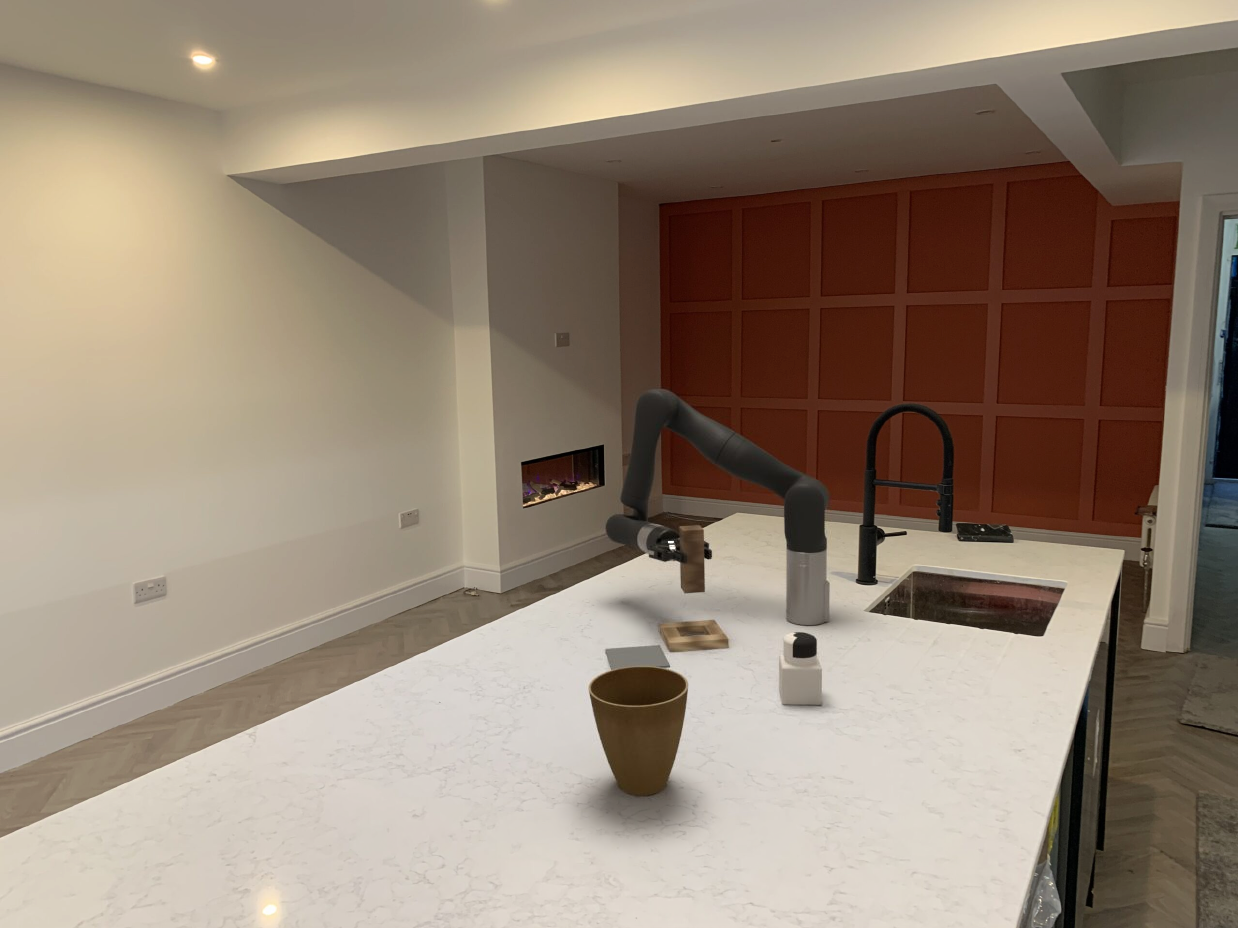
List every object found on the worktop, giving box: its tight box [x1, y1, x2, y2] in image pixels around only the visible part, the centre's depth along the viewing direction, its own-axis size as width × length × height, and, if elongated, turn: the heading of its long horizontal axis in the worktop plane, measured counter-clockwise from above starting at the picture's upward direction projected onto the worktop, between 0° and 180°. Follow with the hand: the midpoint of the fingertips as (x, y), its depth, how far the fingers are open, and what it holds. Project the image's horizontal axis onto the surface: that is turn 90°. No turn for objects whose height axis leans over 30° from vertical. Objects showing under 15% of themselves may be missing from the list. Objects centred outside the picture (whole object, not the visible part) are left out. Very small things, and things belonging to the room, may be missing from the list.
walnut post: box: [678, 524, 706, 594], centre depth 190 cm, size 4×4×14 cm
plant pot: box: [588, 666, 689, 797], centre depth 130 cm, size 15×15×16 cm
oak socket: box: [658, 619, 730, 653], centre depth 193 cm, size 13×13×2 cm
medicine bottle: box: [778, 631, 823, 706], centre depth 160 cm, size 7×7×12 cm
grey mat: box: [604, 644, 671, 670], centre depth 182 cm, size 12×12×1 cm
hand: (698, 556), depth 188 cm, fingers closed on walnut post, 5 cm apart
